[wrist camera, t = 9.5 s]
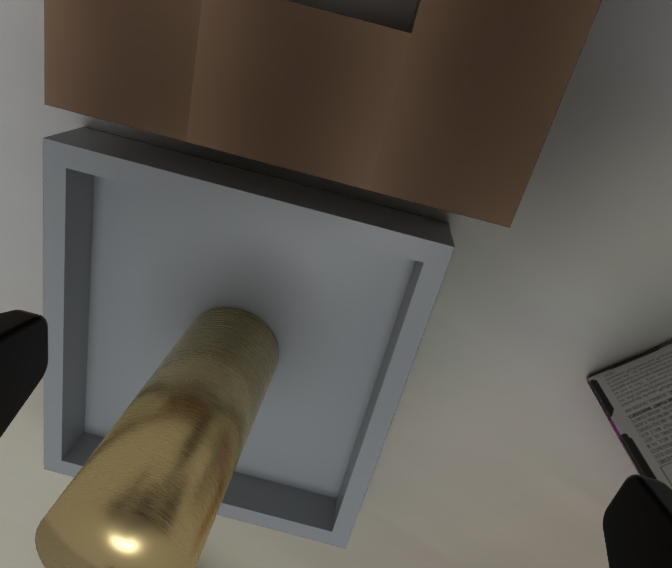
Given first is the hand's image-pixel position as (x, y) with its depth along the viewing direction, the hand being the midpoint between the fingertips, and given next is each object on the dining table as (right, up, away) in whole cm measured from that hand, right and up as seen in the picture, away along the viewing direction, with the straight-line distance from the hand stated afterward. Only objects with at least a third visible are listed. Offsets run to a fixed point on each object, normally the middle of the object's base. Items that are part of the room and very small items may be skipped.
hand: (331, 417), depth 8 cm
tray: (-4, -1, +15) cm, 16 cm away
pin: (-4, -1, +14) cm, 15 cm away
